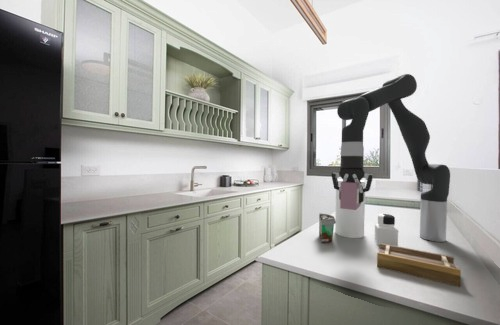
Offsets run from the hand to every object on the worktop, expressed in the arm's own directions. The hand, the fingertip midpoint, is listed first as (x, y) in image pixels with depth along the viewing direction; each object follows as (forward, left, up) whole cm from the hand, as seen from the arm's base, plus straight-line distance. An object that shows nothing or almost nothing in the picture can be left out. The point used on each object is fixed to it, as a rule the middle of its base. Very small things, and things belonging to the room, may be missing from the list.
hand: (351, 202), depth 82 cm
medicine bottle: (-22, +10, -19) cm, 31 cm away
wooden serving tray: (-1, +19, -19) cm, 27 cm away
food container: (-12, -11, -20) cm, 25 cm away
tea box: (0, 0, -2) cm, 2 cm away
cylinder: (-27, -5, -19) cm, 34 cm away
